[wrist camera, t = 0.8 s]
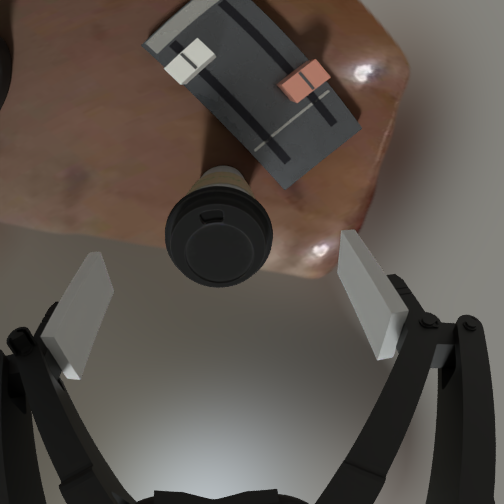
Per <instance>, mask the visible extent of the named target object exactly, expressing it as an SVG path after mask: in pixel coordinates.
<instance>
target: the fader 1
mask: <svg viewBox="0 0 504 504" xmlns="http://www.w3.org/2000/svg"><path fill="white" fill-rule="evenodd" d="M215 58H216V55H215V54H214V53H213V52H212V51H211V50H210V49H209V48H208V47H207V46H206V45H205V44H204V43H203V42H201V41H200V40H199V39H198V38H197V39H195V40H194V41H193V42H192V43H191V44H190V45H189V46H188V47H186V48H185V49H184V50H183V51H182V52H181V53H180V54H179V55H178V56H177V57H176V58H174V59H173V60H172V61H171V62H170V63H169V64H168V65H167V66H166V67H165V68H164V69H165V70H166V71H167V72H168V73H169V74H170V75H171V76H172V77H173V78H174V79H175V80H176V81H177V82H178V83H179V84H180V85H182V84H187V83H188V82H189V81H190V80H191V79H193V78H194V77H195V76H196V75H197V74H198V73H199V72H200V71H201V70H202V69H204V68H205V67H206V66H207V65H208V64H209V63H210V62H212V61H213V60H214V59H215Z"/></svg>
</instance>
